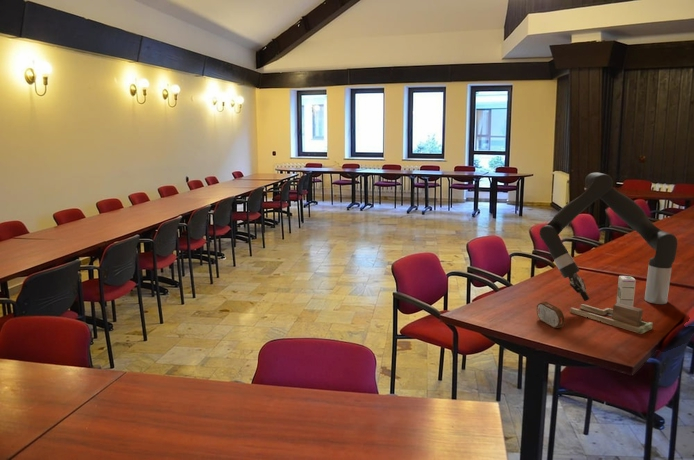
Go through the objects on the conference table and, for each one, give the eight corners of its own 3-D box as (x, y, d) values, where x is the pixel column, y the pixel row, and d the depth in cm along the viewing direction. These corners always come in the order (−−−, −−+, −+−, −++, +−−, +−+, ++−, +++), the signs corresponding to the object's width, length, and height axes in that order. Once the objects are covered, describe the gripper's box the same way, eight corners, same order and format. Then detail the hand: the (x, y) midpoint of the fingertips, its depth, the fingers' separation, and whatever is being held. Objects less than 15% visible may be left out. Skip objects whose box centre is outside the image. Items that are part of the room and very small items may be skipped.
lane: (586, 306, 241) (587, 300, 240) (657, 326, 217) (657, 320, 217) (570, 312, 233) (570, 307, 232) (641, 334, 209) (642, 328, 208)
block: (616, 320, 223) (618, 302, 222) (640, 328, 216) (643, 309, 214) (611, 322, 221) (613, 304, 219) (636, 330, 213) (638, 311, 212)
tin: (564, 330, 212) (566, 310, 210) (557, 331, 211) (559, 311, 210) (540, 317, 226) (542, 299, 225) (534, 318, 225) (536, 299, 224)
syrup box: (633, 311, 235) (636, 279, 232) (618, 310, 236) (622, 278, 233) (629, 306, 240) (632, 276, 237) (615, 305, 242) (618, 275, 239)
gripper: (569, 262, 230) (591, 298, 225) (578, 260, 240) (598, 294, 235) (554, 270, 234) (575, 305, 229) (563, 267, 244) (583, 301, 239)
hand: (587, 300), depth 232 cm, fingers closed
